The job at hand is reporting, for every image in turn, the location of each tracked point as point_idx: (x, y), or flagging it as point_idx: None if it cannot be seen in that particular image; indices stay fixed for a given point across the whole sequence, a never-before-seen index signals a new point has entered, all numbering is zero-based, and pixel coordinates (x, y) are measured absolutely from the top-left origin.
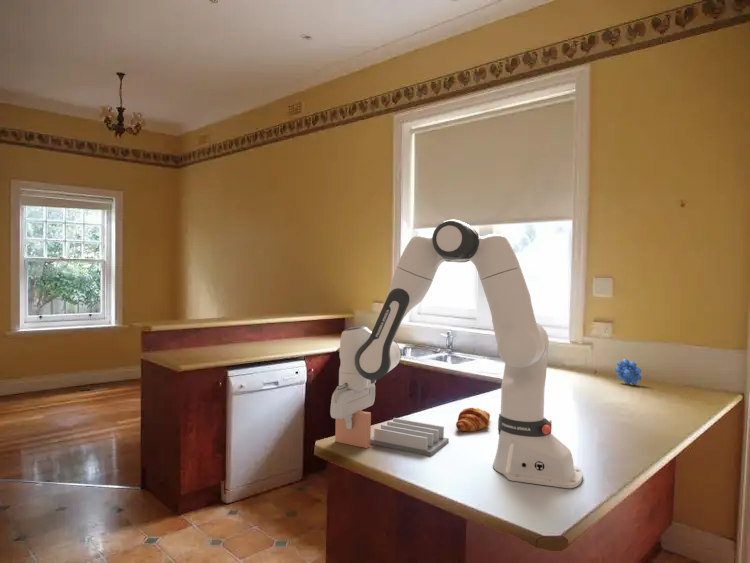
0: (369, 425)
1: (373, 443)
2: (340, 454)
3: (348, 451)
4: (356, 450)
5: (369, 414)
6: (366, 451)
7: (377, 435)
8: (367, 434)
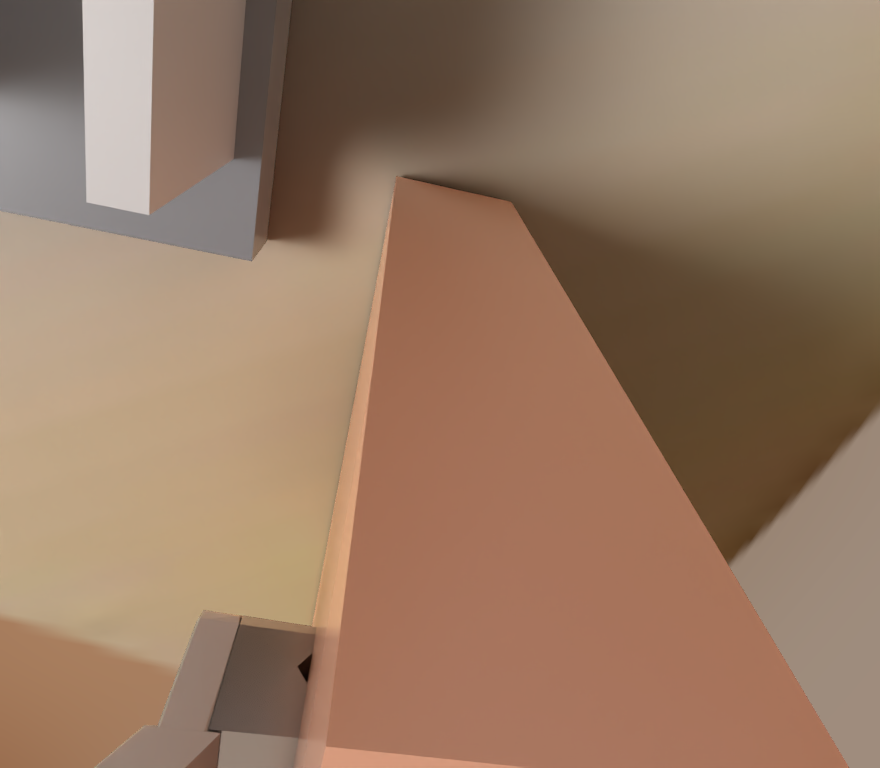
0: (465, 336)
1: (271, 152)
2: (828, 461)
3: (700, 410)
4: (639, 324)
5: (557, 677)
6: (653, 163)
7: (211, 82)
8: (542, 273)
